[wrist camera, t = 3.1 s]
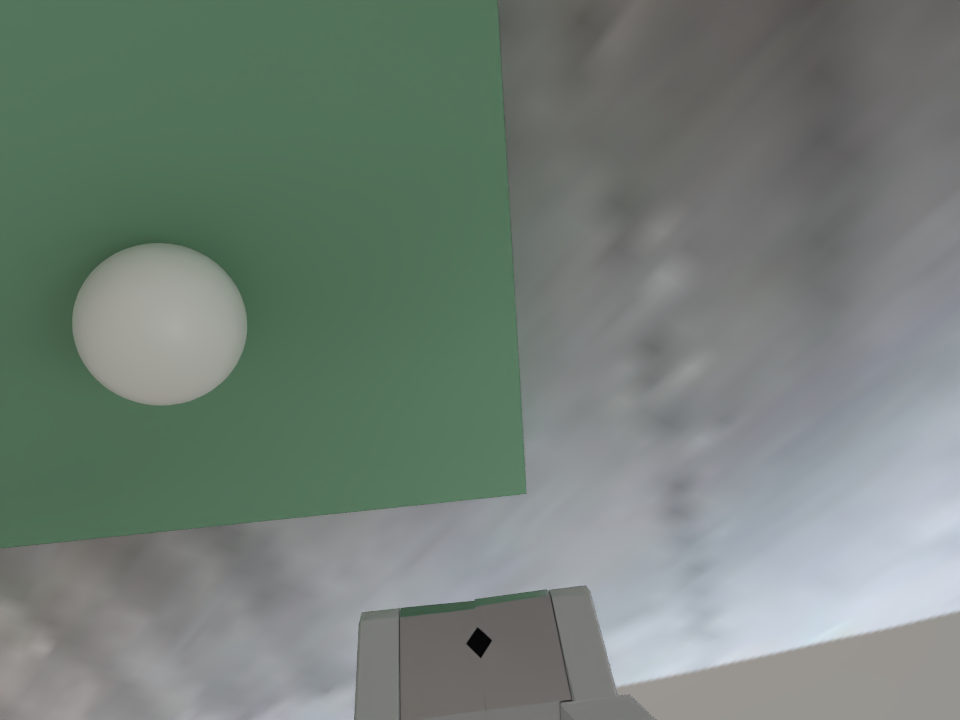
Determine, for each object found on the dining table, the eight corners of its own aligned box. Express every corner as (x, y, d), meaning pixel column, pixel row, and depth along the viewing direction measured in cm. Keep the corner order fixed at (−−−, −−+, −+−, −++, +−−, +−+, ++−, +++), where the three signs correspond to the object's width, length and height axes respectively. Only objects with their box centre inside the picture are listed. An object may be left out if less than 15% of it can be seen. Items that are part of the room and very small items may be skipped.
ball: (239, 209, 18) (203, 284, 15) (273, 340, 20) (249, 430, 17) (81, 224, 18) (14, 302, 15) (132, 355, 20) (82, 446, 17)
